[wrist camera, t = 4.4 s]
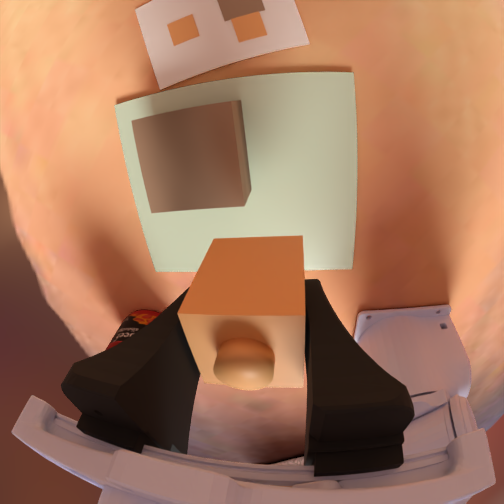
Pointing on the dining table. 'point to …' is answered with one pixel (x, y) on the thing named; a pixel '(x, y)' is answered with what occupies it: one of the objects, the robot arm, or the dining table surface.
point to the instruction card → (215, 33)
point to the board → (264, 168)
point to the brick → (248, 313)
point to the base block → (194, 157)
